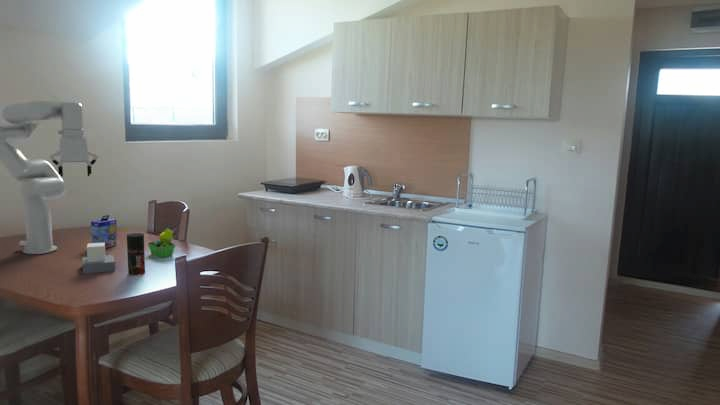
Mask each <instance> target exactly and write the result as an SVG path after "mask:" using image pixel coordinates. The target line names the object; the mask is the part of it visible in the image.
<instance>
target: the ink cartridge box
mask: <svg viewBox="0 0 720 405" xmlns="http://www.w3.org/2000/svg"><path fill="white" fill-rule="evenodd" d="M90 228H91V231H90V232H91V233H90V234H91V243H104V242H105V249H106V248H110V247H114V246H117V242H118V240H117V236H118V234H117V230H118V229H117V219H116V218H115V219H114V218H111V217H110V214H107V215H102V217H101V219H96V220H93V221H90Z"/></svg>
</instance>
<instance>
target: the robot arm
mask: <svg viewBox="0 0 720 405" xmlns="http://www.w3.org/2000/svg"><path fill="white" fill-rule="evenodd" d="M83 111H84V110H83V105H82V104H81V103H80V102H75V101H74V102H71V101H55V100H37V101H36V100H35V101H27V102H20V103H11V104H8V105H6V106H5V107H3V109H2V118H3V119H4V120H5V121H6V122H7V123H0V163H1V164H2V165H3V166H4V168H5V170H7V171H8V173H9V174H10V176H12V178H13V179H14V180H15V182H16V181H17V182H19V183H21V184H20V188H19V191H20V195H21V198H22V202H23V207H24V208H23V209H24V220H25V223H24V224H25V236H26V240H20V241H19V243H18V247H24V248H23V250H22V252H23V253H24V254H27V255H41V254H42V255H43V254H44V255H45V254H49V253H53V252H56V251H57V250H58V246H56V245H54V244H53V227H52V211H51V207H50V205H48V203H47V202H46V200H51V199H58V198H61V197H63V196H64V195H65V194H66V192H67V187H66V182H65V181H64V179H63V176H64V175H63V174H64V172H63V171H64V170H63V164H64V163H85V164H87V165H86V166H87V170H86V171H87V177H90V176H91V175H92V166H93V165H94V164H95V163H96V162H97V160H98V159H99V155H98V154H96V153H94V152H92V151H89V147H88V140H87V137H86V136H85V134H84V133H85V131H84V116H83V115H84V112H83ZM41 121H61V129H59V130H57V134H58V135H62V136H60V138H59V151H56V152H55V153H52V154H50V155H49V158H50V160H51V162H52V163H53V164H54V165H55V166H57V167H58V171H56V169H55V168H54V167H53V165H52V164H51V163H50V162H49V161H47V160H45V159H42V158H35V159H34V158H33V159H32V158H31V159H30V158H27V157H26V156H25V155H24V154H23V153H22V152H21V150H20V149H18V148H17V147H15V146H13V145H11V144H19V143H20V144H21V143H23V144H25V143H26V142H28V141H30V140H31V138H32V137H33V136H34V134H35V133H36V131H37V129H38V127H39V126H40V124H41ZM57 156H59V160H60V161H58V160H56V158H55V157H57ZM89 156H91V157H93V159H91V161H89Z"/></svg>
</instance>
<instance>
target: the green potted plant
mask: <svg viewBox="0 0 720 405" xmlns="http://www.w3.org/2000/svg"><path fill="white" fill-rule="evenodd" d="M173 233H174V232H173V231H172V229H170V228H165V229H164V231H162V232H161V233H160V234H159V236H158V237H159V240H156V241H150V242H147V245H148V247H149V251H150V254H151V255H153V256H156V257H157V258H160V259H164V258H168V257H169V256H170V257H173V254H174V250H175V248H176V244H174V243H173V242H172V241H173V236H174V235H173Z"/></svg>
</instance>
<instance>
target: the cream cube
mask: <svg viewBox="0 0 720 405" xmlns="http://www.w3.org/2000/svg"><path fill="white" fill-rule="evenodd" d="M86 255H87V256H86V257H87V261H88V262H100V261H105V255H106V248H105V242H104V243H92V242H89V243H87V245H86Z"/></svg>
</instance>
